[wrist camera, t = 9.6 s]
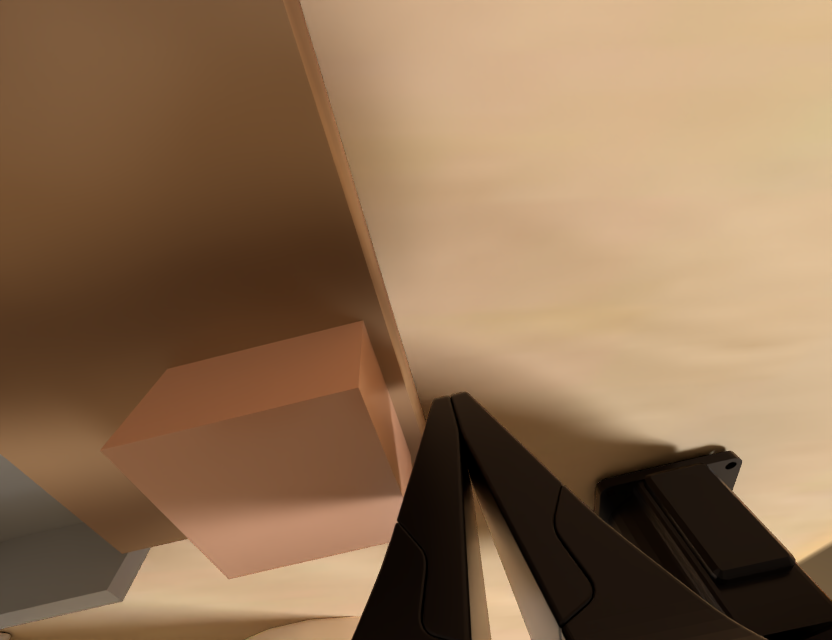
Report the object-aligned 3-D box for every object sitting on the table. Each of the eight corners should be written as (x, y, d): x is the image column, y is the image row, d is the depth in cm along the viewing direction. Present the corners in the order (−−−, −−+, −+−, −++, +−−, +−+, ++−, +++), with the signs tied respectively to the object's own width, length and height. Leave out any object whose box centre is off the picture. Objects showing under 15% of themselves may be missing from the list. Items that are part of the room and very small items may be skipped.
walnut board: (426, 425, 14) (435, 480, 12) (160, 488, 14) (122, 553, 12) (257, -138, 7) (199, -260, 5) (-285, 20, 7) (-580, -23, 5)
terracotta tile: (410, 454, 11) (418, 535, 9) (257, 491, 11) (228, 579, 9) (362, 320, 9) (358, 387, 7) (167, 368, 9) (99, 450, 7)
